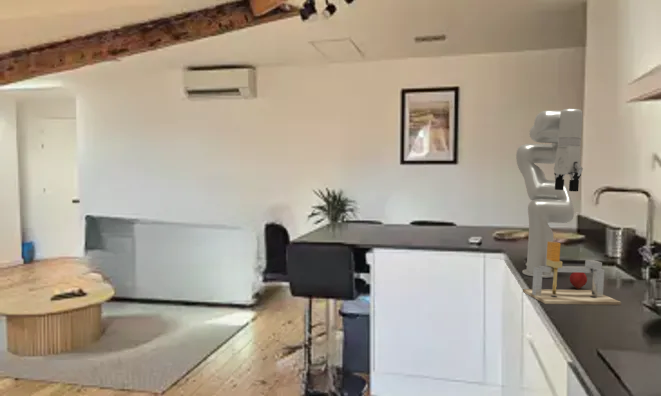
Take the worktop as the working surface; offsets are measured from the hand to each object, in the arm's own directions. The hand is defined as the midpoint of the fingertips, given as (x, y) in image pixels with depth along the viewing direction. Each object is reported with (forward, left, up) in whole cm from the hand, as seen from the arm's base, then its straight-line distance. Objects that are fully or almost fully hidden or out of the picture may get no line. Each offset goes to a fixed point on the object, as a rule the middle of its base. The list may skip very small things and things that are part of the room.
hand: (566, 190), depth 192 cm
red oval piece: (0, +7, -36) cm, 37 cm away
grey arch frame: (+15, -5, -35) cm, 39 cm away
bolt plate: (+14, -4, -36) cm, 39 cm away
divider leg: (+15, -11, -34) cm, 39 cm away
